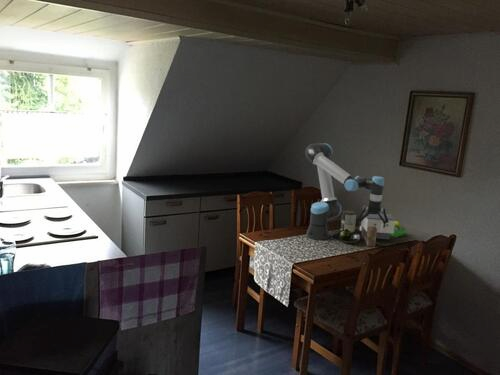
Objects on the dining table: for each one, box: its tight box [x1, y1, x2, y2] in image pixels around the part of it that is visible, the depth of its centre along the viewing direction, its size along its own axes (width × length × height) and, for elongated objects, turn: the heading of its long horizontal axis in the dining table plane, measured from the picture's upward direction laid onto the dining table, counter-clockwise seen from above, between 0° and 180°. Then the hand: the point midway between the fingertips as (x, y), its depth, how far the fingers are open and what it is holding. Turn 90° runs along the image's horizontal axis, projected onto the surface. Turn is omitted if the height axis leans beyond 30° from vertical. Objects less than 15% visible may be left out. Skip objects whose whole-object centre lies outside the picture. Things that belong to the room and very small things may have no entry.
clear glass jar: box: [340, 209, 357, 233], centre depth 308 cm, size 10×10×14 cm
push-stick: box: [363, 226, 377, 247], centre depth 282 cm, size 5×15×12 cm, turn 177°
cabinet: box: [360, 211, 397, 240], centre depth 289 cm, size 19×16×17 cm
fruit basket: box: [390, 219, 407, 238], centre depth 302 cm, size 11×9×11 cm
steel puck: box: [352, 233, 361, 241], centre depth 289 cm, size 4×4×3 cm
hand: (370, 231), depth 277 cm, fingers open, 13 cm apart
